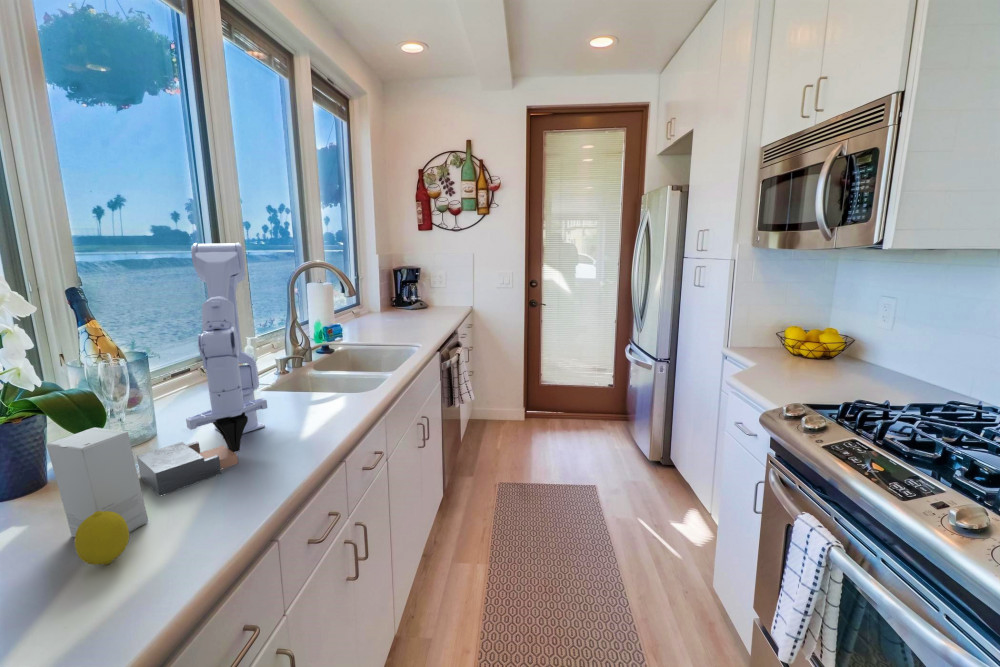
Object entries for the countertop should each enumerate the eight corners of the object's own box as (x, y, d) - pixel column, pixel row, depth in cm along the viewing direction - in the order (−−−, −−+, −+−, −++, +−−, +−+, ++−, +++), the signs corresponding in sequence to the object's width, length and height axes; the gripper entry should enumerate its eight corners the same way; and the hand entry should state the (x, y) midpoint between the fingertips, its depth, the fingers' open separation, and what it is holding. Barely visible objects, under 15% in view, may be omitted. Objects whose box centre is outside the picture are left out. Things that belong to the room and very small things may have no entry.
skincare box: (149, 522, 72) (132, 430, 69) (102, 548, 66) (81, 449, 63) (114, 513, 75) (96, 424, 72) (65, 537, 69) (44, 442, 66)
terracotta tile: (156, 479, 87) (154, 467, 86) (224, 456, 96) (222, 445, 96) (168, 490, 82) (166, 478, 82) (238, 465, 92) (236, 454, 91)
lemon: (103, 580, 59) (91, 526, 58) (70, 575, 60) (58, 521, 59) (143, 553, 65) (134, 502, 63) (112, 548, 66) (102, 498, 64)
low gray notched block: (140, 476, 87) (136, 455, 86) (199, 457, 94) (196, 437, 93) (159, 496, 80) (155, 473, 79) (221, 473, 87) (218, 452, 86)
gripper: (191, 401, 83) (202, 469, 86) (270, 382, 95) (278, 443, 97) (178, 394, 88) (188, 459, 90) (255, 377, 99) (263, 435, 102)
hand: (234, 450), depth 94 cm, fingers closed
